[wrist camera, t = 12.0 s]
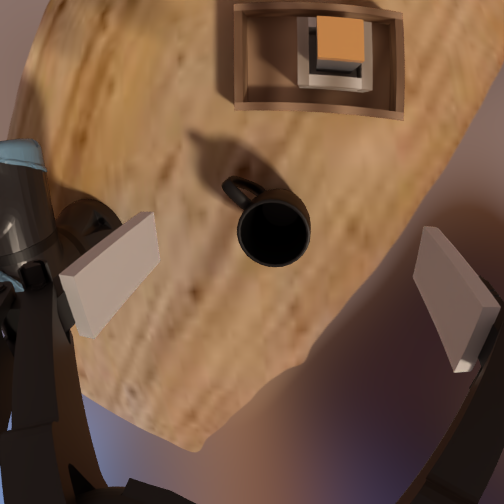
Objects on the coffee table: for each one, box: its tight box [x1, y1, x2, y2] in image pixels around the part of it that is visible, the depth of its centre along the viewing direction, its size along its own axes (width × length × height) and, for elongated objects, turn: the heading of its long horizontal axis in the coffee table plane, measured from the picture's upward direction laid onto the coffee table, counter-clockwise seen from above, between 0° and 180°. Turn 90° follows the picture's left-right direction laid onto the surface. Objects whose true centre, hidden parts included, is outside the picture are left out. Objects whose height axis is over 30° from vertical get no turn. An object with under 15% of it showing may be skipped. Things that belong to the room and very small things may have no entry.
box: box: [234, 2, 405, 121], centre depth 31 cm, size 20×14×7 cm
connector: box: [315, 16, 365, 74], centre depth 27 cm, size 4×4×11 cm
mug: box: [222, 176, 311, 267], centre depth 39 cm, size 8×12×10 cm
